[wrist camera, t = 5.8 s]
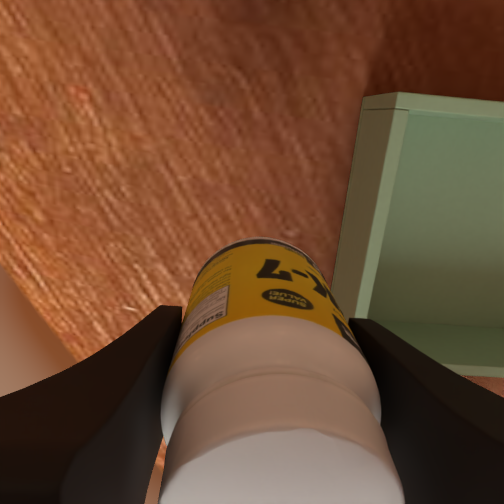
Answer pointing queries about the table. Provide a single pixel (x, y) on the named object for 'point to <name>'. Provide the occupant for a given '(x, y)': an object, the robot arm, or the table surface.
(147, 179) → the table surface
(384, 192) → the box
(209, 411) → the supplement bottle
